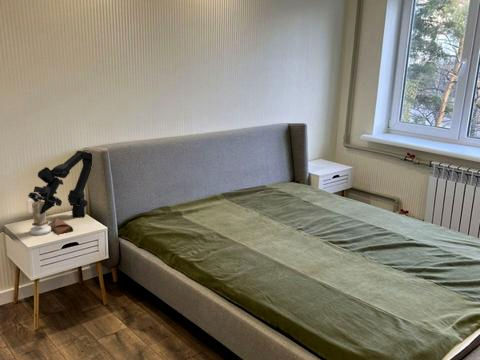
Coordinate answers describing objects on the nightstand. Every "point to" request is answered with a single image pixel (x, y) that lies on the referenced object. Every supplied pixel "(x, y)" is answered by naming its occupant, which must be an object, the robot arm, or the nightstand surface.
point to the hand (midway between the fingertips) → (37, 213)
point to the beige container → (38, 214)
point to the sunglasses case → (60, 227)
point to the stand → (40, 230)
